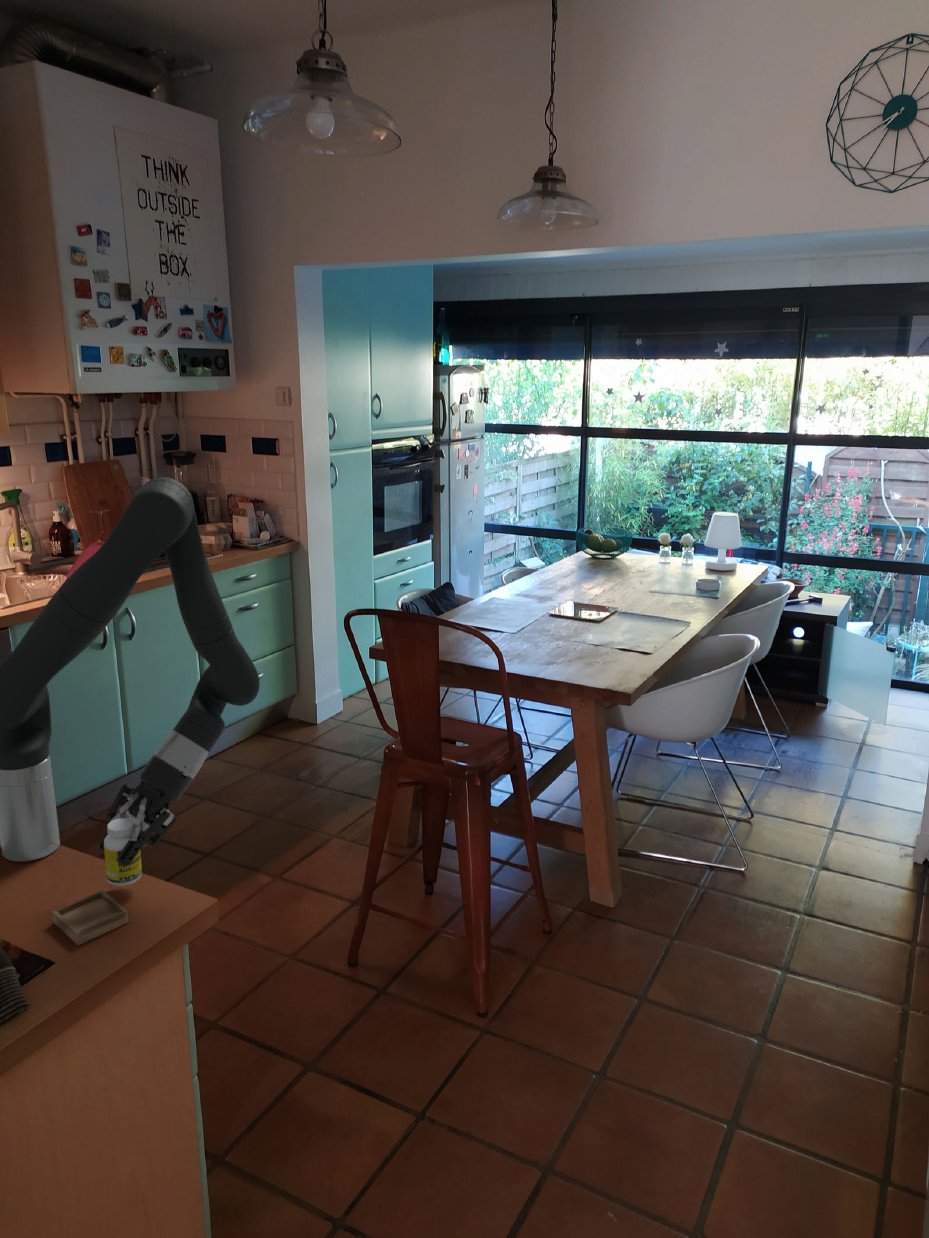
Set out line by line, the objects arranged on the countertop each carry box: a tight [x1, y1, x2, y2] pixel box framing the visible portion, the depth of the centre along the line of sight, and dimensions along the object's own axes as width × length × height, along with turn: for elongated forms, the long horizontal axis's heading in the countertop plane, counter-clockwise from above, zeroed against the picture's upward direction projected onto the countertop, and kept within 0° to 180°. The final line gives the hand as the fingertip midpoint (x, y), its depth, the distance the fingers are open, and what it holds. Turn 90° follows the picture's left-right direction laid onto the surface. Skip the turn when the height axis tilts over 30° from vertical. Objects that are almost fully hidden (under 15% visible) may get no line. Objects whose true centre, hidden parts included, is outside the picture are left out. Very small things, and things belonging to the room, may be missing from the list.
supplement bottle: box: [103, 818, 143, 887], centre depth 147 cm, size 5×5×10 cm
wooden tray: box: [52, 890, 130, 946], centre depth 140 cm, size 8×8×2 cm
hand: (112, 856), depth 145 cm, fingers closed on supplement bottle, 5 cm apart
